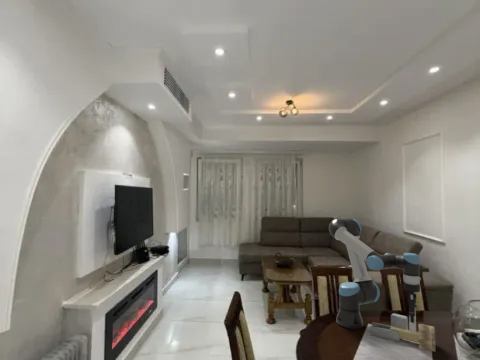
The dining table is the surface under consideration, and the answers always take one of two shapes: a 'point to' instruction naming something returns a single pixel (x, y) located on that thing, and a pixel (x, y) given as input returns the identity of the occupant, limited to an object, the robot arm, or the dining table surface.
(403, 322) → the medicine box
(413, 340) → the tan slab piece
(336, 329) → the dining table surface
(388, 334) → the guide channel
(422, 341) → the socket block
